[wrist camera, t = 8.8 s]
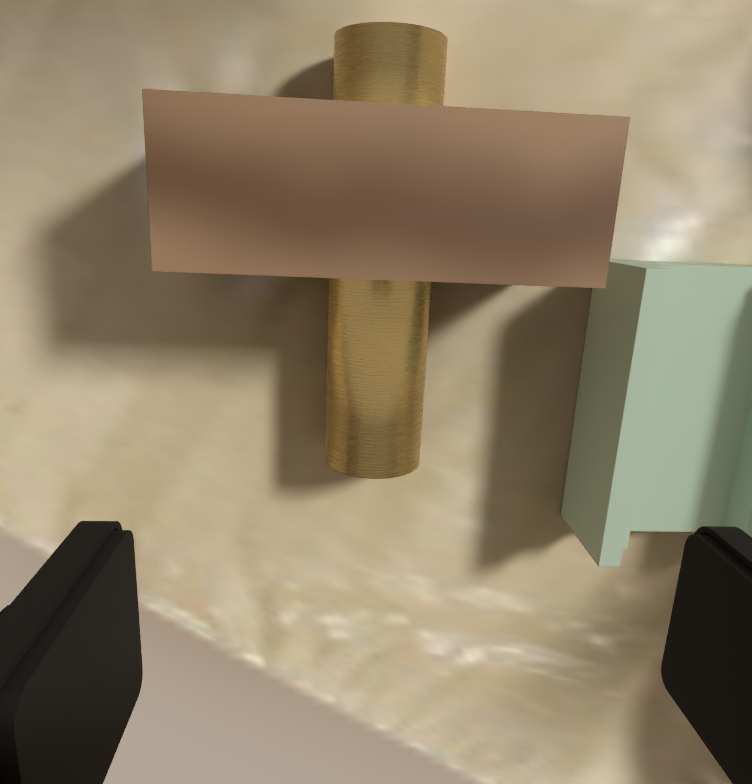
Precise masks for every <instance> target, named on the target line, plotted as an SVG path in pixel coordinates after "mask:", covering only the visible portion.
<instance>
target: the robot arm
mask: <svg viewBox="0 0 752 784" xmlns="http://www.w3.org/2000/svg"><path fill="white" fill-rule="evenodd" d="M661 673H662V679H663V682H664V685H665V687H666V689H667V691H668V692H669V694H670V695H671V697H672V698H673V699H674V701H675V702H676V704H677V705H678V707H679V708H680V709H681V711H682V712H683V714H684V715H685V716H686V718H687V719H688V721H689V722H690V724H691V725H692V726H693V728H694V729H695V731H696V732H697V734H698V735H699V736H700V738H701V739H702V741H703V742H704V743H705V745H706V746H707V748H708V749H709V751H710V752H711V753H712V755H713V756H714V758H715V759H716V761H717V762H718V763H719V765H720V766H721V768H722V769H723V770H724V772H725V773H726V775H727V776H728V778H729V779H730V780H731V782H732V783H733V784H752V537H751V536H749V535H748V534H747V533H745V532H744V531H743V530H741V529H740V528H738V527H730V526H702V527H700V528H698V529H697V531H696V532H695V534H694V535H690V536H689V537H688V538H687V540H686V543H685V547H684V553H683V558H682V563H681V568H680V573H679V578H678V583H677V588H676V594H675V599H674V604H673V609H672V614H671V619H670V624H669V629H668V635H667V640H666V645H665V650H664V655H663V660H662V667H661ZM141 683H142V655H141V641H140V626H139V611H138V596H137V582H136V567H135V552H134V539H133V534H132V532H131V531H130V530H122V527H121V524H120V523H119V522H118V521H81V522H79V523H78V524H77V525H76V527H75V528H74V529H73V530H72V531H71V533H70V534H69V535H68V536H67V537H66V538H65V540H64V541H63V542H62V543H61V544H60V546H59V547H58V548H57V549H56V550H55V552H54V553H53V554H52V555H51V556H50V558H49V559H48V560H47V561H46V563H45V564H44V565H43V566H42V567H41V568H40V570H39V571H38V572H37V573H36V575H35V576H34V577H33V578H32V579H31V580H30V582H29V583H28V584H27V585H26V586H25V587H24V589H23V590H22V591H21V592H20V594H19V595H18V596H17V597H16V598H15V600H14V601H13V602H12V603H11V604H10V605H8V606H6V607H5V608H4V609H3V610H2V611H1V612H0V784H103V782H104V779H105V777H106V774H107V772H108V769H109V767H110V764H111V762H112V760H113V757H114V755H115V752H116V750H117V747H118V744H119V743H120V740H121V738H122V735H123V733H124V730H125V728H126V725H127V723H128V721H129V718H130V716H131V713H132V711H133V708H134V706H135V703H136V701H137V698H138V696H139V693H140V689H141Z"/></svg>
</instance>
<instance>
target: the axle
mask: <svg viewBox="0 0 752 784" xmlns="http://www.w3.org/2000/svg"><path fill="white" fill-rule="evenodd" d="M447 42H448V39H447V37H446V36H445V35H444V34H443V33H441V32H439V31H437V30H434V29H431V28H428V27H424V26H419V25H414V24H407V23H395V22H370V23H360V24H354V25H349V26H346V27H343V28H341V29H339V30H337V31H336V32H335V35H334V79H333V100H343V101H361V102H378V103H395V104H413V105H430V106H443V102H444V87H445V72H446V57H447ZM430 296H431V282H423V281H396V280H370V279H343V278H329V306H328V351H327V397H326V442H325V461H326V463H327V465H328V466H329V467H331V468H332V469H334V470H336V471H338V472H340V473H343V474H346V475H350V476H354V477H360V478H370V479H384V478H393V477H399V476H403V475H406V474H408V473H411V472H412V471H414V470H415V469H417V467H418V466H419V460H420V445H421V430H422V415H423V401H424V386H425V371H426V356H427V341H428V326H429V311H430Z"/></svg>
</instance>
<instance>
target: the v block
mask: <svg viewBox="0 0 752 784" xmlns="http://www.w3.org/2000/svg"><path fill="white" fill-rule="evenodd" d="M561 516H562V518H563V519H564V520H565V522H566V523H567V524H568V526H569V527H570V528H571V530H572V531H573V533H574V534H575V535H576V537H577V538H578V539H579V541H580V542H581V543H582V545H583V546H584V548H585V549H586V550H587V552H588V553H589V554H590V556H591V557H592V558H593V560H594V561H595V562H596V564H597V565H598V567H620V565H621V559H622V553H623V548H628V542H629V536H630V531H659V532H696V531H697V529H698V528H700V527H702V526H730V527H738V528H740V529H741V530H743V531H744V532H745V533H747V534H748V535H749V536H751V537H752V265H732V264H707V263H683V262H658V261H634V260H609V267H608V274H607V281H606V288H592V293H591V300H590V307H589V314H588V322H587V329H586V336H585V343H584V351H583V358H582V365H581V372H580V380H579V387H578V394H577V401H576V408H575V416H574V423H573V430H572V437H571V445H570V452H569V459H568V466H567V474H566V481H565V488H564V495H563V502H562V510H561Z"/></svg>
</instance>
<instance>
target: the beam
mask: <svg viewBox="0 0 752 784" xmlns="http://www.w3.org/2000/svg"><path fill="white" fill-rule="evenodd" d="M142 98H143V116H144V134H145V152H146V170H147V188H148V206H149V224H150V243H151V261H152V271H157V272H183V273H210V274H236V275H263V276H290V277H316V278H343V279H370V280H396V281H423V282H449V283H476V284H503V285H529V286H556V287H583V288H606V281H607V274H608V267H609V260H610V253H611V246H612V239H613V232H614V225H615V218H616V212H617V205H618V198H619V191H620V184H621V177H622V170H623V163H624V156H625V149H626V142H627V135H628V128H629V121H630V117H621V116H604V115H586V114H569V113H552V112H534V111H517V110H500V109H482V108H465V107H447V106H430V105H413V104H395V103H378V102H361V101H343V100H326V99H308V98H291V97H274V96H256V95H239V94H222V93H204V92H187V91H169V90H152V89H142Z"/></svg>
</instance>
